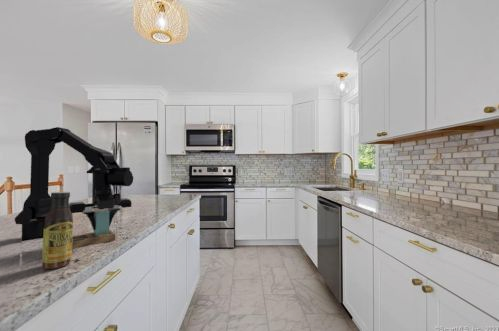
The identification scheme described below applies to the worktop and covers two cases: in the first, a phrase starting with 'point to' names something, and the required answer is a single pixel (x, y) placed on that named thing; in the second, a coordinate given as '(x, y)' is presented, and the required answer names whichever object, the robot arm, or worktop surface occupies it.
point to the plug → (101, 222)
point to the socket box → (91, 239)
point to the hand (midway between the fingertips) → (101, 228)
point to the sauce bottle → (58, 233)
